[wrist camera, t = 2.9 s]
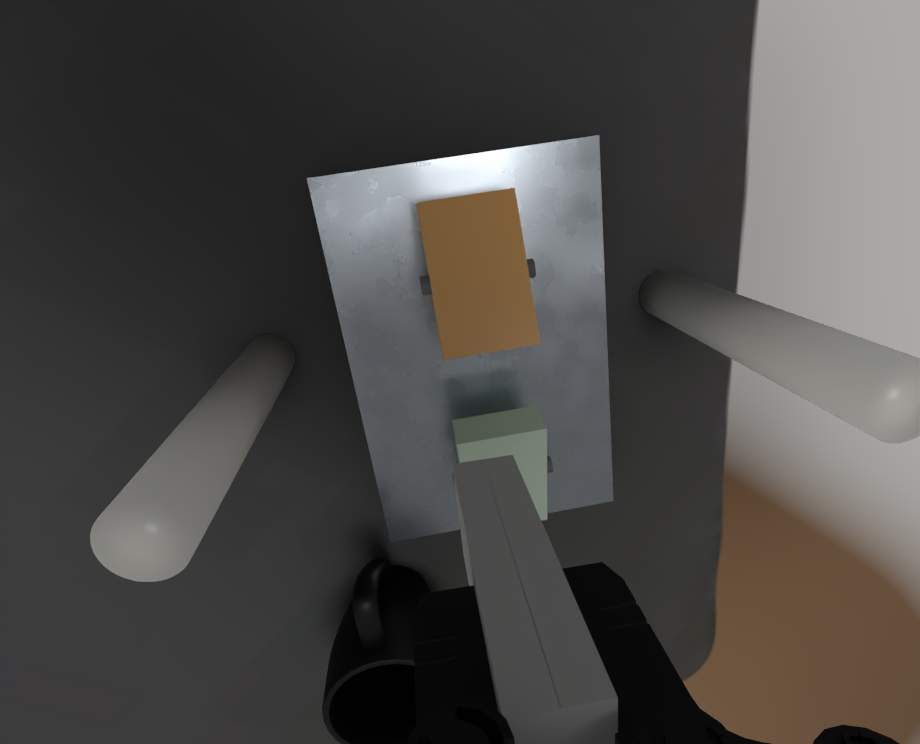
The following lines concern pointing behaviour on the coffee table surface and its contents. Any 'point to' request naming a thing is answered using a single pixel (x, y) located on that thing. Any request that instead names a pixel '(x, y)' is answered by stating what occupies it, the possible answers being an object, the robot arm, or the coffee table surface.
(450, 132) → the coffee table surface
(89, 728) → the coffee table surface
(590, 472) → the panel
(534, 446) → the rocker on
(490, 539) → the robot arm
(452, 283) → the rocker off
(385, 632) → the mug
